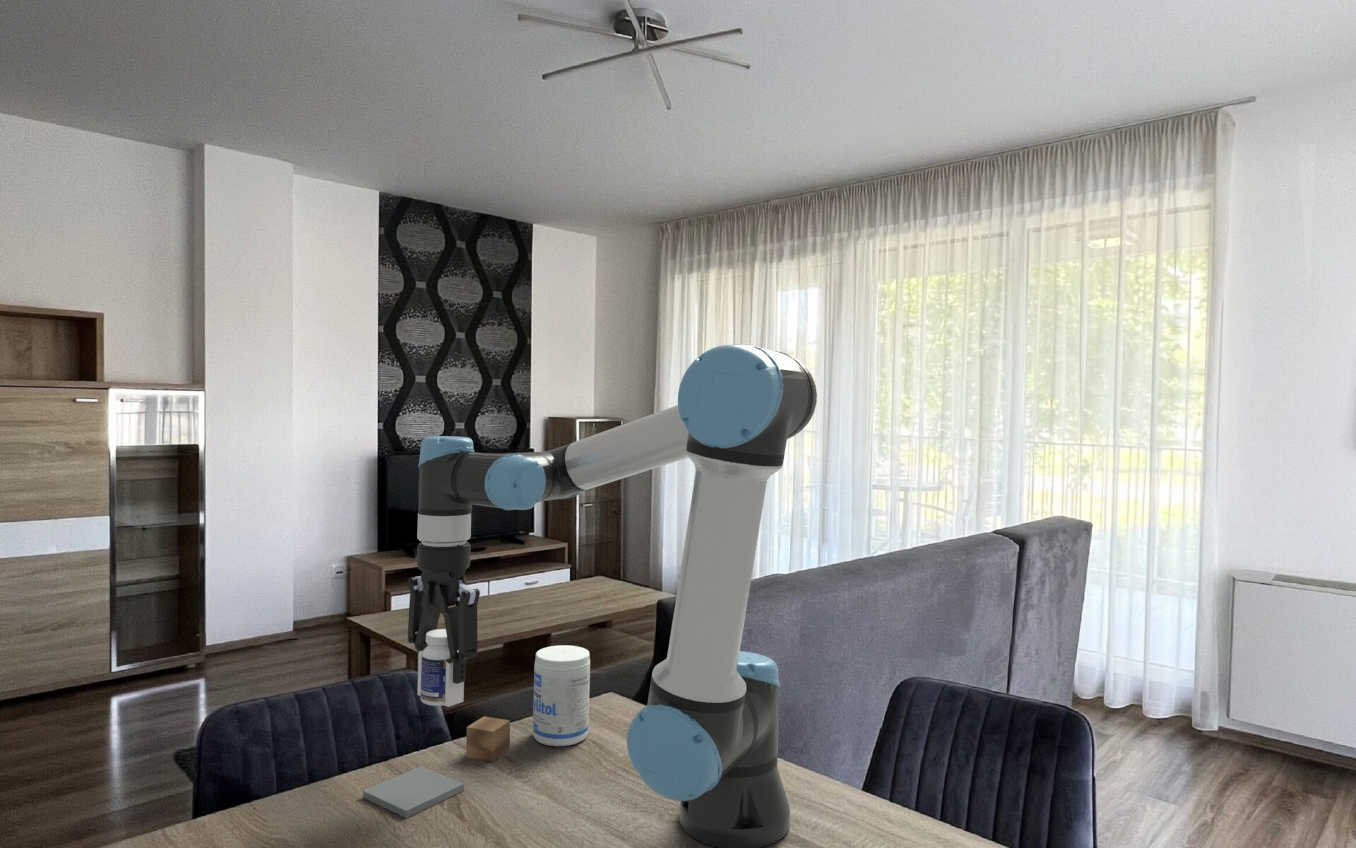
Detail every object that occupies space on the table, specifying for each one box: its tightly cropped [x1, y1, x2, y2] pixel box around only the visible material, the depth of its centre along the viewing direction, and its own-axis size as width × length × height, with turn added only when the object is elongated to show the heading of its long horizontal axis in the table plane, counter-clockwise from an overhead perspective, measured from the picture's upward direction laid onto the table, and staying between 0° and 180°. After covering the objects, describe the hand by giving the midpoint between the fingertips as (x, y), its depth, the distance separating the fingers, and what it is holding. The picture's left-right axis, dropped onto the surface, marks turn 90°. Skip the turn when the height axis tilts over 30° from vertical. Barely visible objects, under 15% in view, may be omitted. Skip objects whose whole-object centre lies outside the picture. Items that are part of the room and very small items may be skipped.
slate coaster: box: [362, 765, 465, 819], centre depth 118 cm, size 10×10×1 cm
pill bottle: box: [419, 628, 459, 707], centre depth 118 cm, size 6×6×10 cm
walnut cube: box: [465, 715, 511, 763], centre depth 132 cm, size 5×5×5 cm
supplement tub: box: [532, 644, 591, 747], centre depth 139 cm, size 10×10×15 cm
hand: (440, 698), depth 118 cm, fingers closed on pill bottle, 6 cm apart
